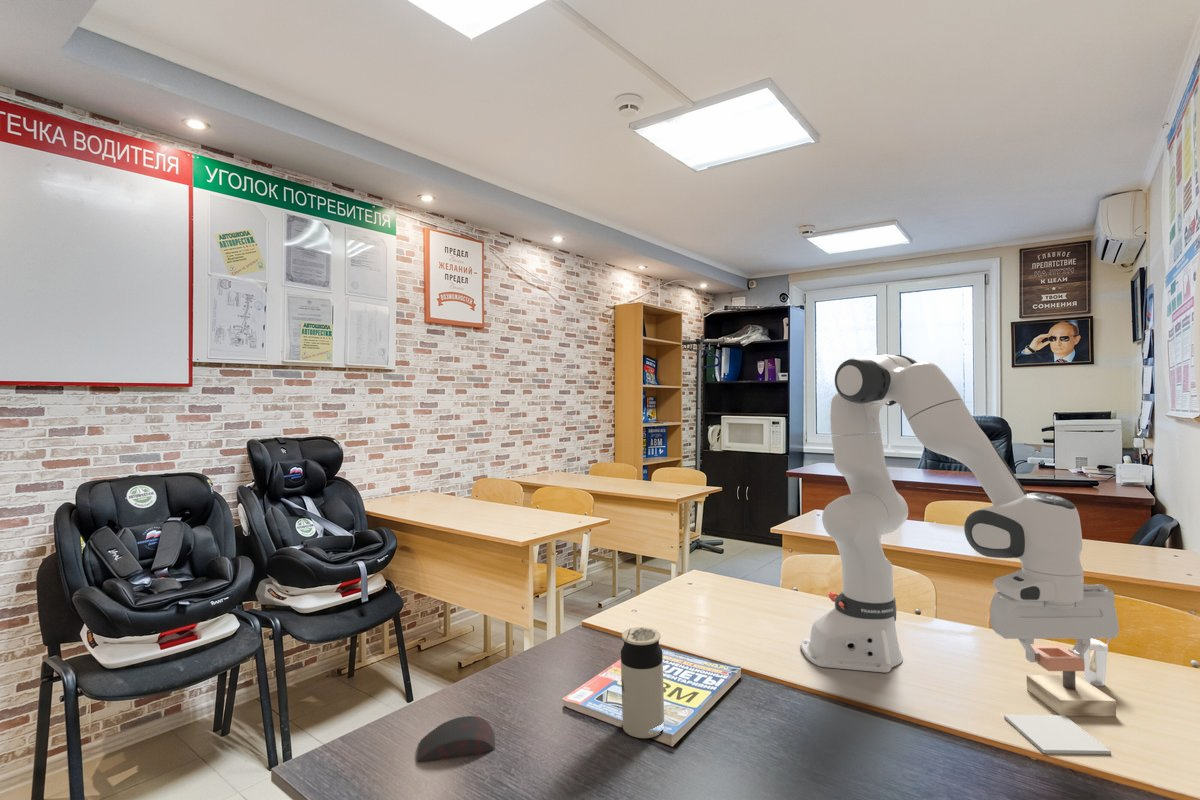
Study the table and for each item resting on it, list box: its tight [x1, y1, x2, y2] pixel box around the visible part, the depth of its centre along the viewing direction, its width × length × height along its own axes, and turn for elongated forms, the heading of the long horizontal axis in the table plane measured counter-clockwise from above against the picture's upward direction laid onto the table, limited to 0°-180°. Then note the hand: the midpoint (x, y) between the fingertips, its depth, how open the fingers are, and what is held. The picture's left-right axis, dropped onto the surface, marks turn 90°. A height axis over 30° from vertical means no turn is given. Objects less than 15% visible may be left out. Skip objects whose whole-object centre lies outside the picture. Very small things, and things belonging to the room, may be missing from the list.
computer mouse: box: [416, 715, 496, 764], centre depth 108 cm, size 8×14×4 cm, turn 102°
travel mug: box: [620, 626, 665, 739], centre depth 112 cm, size 8×8×18 cm
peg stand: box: [1026, 671, 1117, 717], centre depth 117 cm, size 10×10×8 cm
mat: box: [1003, 714, 1112, 755], centre depth 106 cm, size 11×11×1 cm
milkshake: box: [1083, 639, 1111, 687], centre depth 124 cm, size 4×5×10 cm
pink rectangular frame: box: [1030, 644, 1085, 672], centre depth 106 cm, size 6×6×2 cm
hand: (1054, 661), depth 106 cm, fingers closed on pink rectangular frame, 6 cm apart
